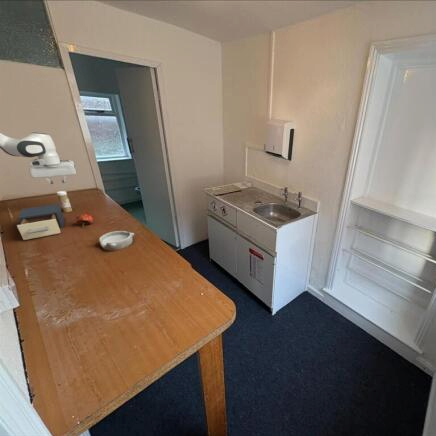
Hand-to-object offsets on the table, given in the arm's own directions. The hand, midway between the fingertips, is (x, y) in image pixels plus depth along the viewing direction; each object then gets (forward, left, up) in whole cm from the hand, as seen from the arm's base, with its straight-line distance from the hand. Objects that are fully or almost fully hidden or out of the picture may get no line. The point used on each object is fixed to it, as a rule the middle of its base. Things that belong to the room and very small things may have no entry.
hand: (58, 183), depth 146 cm
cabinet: (-9, -22, -19) cm, 30 cm away
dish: (+20, -69, -19) cm, 74 cm away
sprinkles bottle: (0, 0, -19) cm, 19 cm away
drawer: (-9, -35, -18) cm, 40 cm away
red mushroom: (+8, -33, -16) cm, 37 cm away
